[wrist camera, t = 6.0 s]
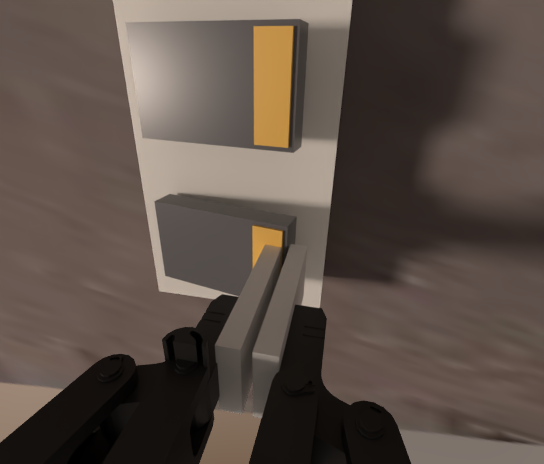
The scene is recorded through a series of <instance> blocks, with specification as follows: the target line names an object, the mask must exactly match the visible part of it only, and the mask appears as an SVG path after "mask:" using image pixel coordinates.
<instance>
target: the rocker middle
mask: <svg viewBox="0 0 544 464" xmlns="http://www.w3.org/2000/svg"><path fill="white" fill-rule="evenodd" d="M125 24H126V31H127V37H128V44H129V51H130V57H131V64H132V71H133V77H134V84H135V91H136V97H137V104H138V111H139V118H140V124H141V131H142V138H147V139H157V140H167V141H178V142H188V143H198V144H208V145H218V146H228V147H239V148H249V149H259V150H269V151H279V152H290V153H294V152H295V151H297V150H298V149H299V148H300V147H301V144H302V127H303V110H304V93H305V77H306V60H307V43H308V26H309V23H307V22H305V21H303V20H301V19H272V20H219V21H166V22H125Z"/></svg>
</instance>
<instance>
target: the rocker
mask: <svg viewBox="0 0 544 464" xmlns="http://www.w3.org/2000/svg"><path fill="white" fill-rule="evenodd" d="M154 202H155V209H156V216H157V223H158V230H159V237H160V244H161V250H162V257H163V264H164V271H165V276H167V277H171V278H174V279H178V280H182V281H185V282H189V283H192V284H196V285H200V286H203V287H207V288H210V289H214V290H218V291H221V292H225V293H228V294H232V295H236V296H240V294H241V292H242V290H243V288H244V286H245V284H246V282H247V280H248V278H249V276H250V274H251V272H252V270H253V268H254V266H255V264H256V262H257V260H258V258H259V256H260V254H261V252H262V250H263V248H264V246H265V244H266V245H271V246H275V247H280V248H281V265H280V273H281V270H282V267H283V264H284V261H285V259H286V256H287V253H288V250H289V247H290V244H295V238H296V221H297V216H291V215H285V214H280V213H274V212H268V211H263V210H257V209H252V208H246V207H240V206H235V205H229V204H224V203H218V202H212V201H207V200H201V199H196V198H190V197H184V196H179V195H173V194H168V195H166V196H164V197H162V198H160V199H158V200H156V201H154Z"/></svg>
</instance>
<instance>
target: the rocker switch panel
mask: <svg viewBox="0 0 544 464" xmlns="http://www.w3.org/2000/svg"><path fill="white" fill-rule="evenodd" d="M352 2H353V0H113V4H114V11H115V17H116V23H117V29H118V36H119V42H120V48H121V54H122V61H123V67H124V73H125V79H126V86H127V92H128V98H129V105H130V111H131V117H132V123H133V130H134V136H135V142H136V148H137V155H138V161H139V167H140V173H141V180H142V186H143V192H144V199H145V205H146V211H147V217H148V224H149V230H150V236H151V242H152V249H153V255H154V261H155V267H156V274H157V280H158V286H159V291H162V292H169V293H176V294H183V295H190V296H196V297H203V298H210V299H216V298H217V297H218V296H220V295H221V294H224V295H230V296H236V295H232V294H228V293H225V292H221V291H218V290H214V289H210V288H207V287H203V286H200V285H196V284H192V283H189V282H185V281H182V280H178V279H174V278H171V277H167V276H165V271H164V264H163V257H162V250H161V244H160V237H159V230H158V223H157V216H156V209H155V202H154V201H156V200H158V199H160V198H162V197H164V196H166V195H168V194H173V195H179V196H184V197H190V198H196V199H201V200H207V201H212V202H218V203H224V204H229V205H235V206H240V207H246V208H252V209H257V210H263V211H268V212H274V213H280V214H285V215H291V216H297V221H296V238H295V245H303V246H307V257H306V270H305V283H304V296H303V301H302V306H309V307H315V308H320V300H321V291H322V282H323V273H324V264H325V254H326V245H327V236H328V226H329V217H330V208H331V198H332V189H333V180H334V170H335V161H336V151H337V142H338V133H339V123H340V114H341V105H342V95H343V86H344V77H345V67H346V58H347V48H348V39H349V30H350V20H351V11H352ZM272 19H301V20H303V21H305V22H307V23H309V26H308V43H307V60H306V77H305V93H304V110H303V127H302V144H301V147H300V148H299V149H298V150H297V151H295V152H294V153H290V152H279V151H269V150H259V149H249V148H239V147H228V146H218V145H208V144H198V143H188V142H178V141H167V140H157V139H147V138H142V131H141V124H140V118H139V111H138V104H137V97H136V91H135V84H134V77H133V71H132V64H131V57H130V51H129V44H128V37H127V31H126V24H125V22H166V21H219V20H272ZM237 297H239V296H237Z"/></svg>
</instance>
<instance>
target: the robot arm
mask: <svg viewBox="0 0 544 464" xmlns="http://www.w3.org/2000/svg"><path fill="white" fill-rule="evenodd" d="M306 257H307V246H303V245H295V244H290V247H289V250H288V253H287V256H286V259H285V261H284V264H283V267H282V270H281V273H280V265H281V248H280V247H275V246H271V245H266V244H265V246H264V248H263V250H262V252H261V254H260V256H259V258H258V260H257V262H256V264H255V266H254V268H253V270H252V272H251V274H250V276H249V278H248V280H247V282H246V284H245V286H244V288H243V290H242V292H241V294H240V296H239V297H237V296H230V295H224V294H221V295H220V296H218V297H217V298H216V299H214V300H213V301H212V302H211V303H210V305H209V307H208V308H207V310H206V313H204V315H203V317H202V319H201V320H200V322H199V323H198V325H197V327H196V328H193V327H184V328H180V329H176V330H174V331H172V332H170V333H168V334H167V335H166V336H165V337H164V338H163V339H162V342H163V348H164V355H165V362H162V363H157V364H149V365H138V366H136V364H135V361H134V359H133V358H131V357H130V356H129V355H124V354H116V355H111V356H108V357H105V358H103V359H101V360H100V361H98V362H97V363H95V364H94V365H93V366H91V367H90V368H89V369H88V370H87V371H85V372H84V373H83V374H82V375H81V376H79V377H78V378H77V379H76V380H75V381H73V382H72V383H71V384H70V385H69V386H67V387H66V388H65V389H64V390H63V391H62V392H60V393H59V394H58V395H57V396H56V397H54V398H53V399H52V400H51V401H50V402H48V403H47V404H46V405H45V406H44V407H42V408H41V409H40V410H39V411H38V412H36V413H35V414H34V415H33V416H32V417H30V418H29V419H28V420H27V421H26V422H24V423H23V424H22V425H21V426H20V427H18V428H17V429H16V430H15V431H14V432H13V433H11V434H10V435H9V436H8V437H6V439H4V440H3V441H2V442H1V443H0V464H199V463H200V460H201V457H202V454H203V452H204V449H205V446H206V443H207V441H208V438H209V435H210V432H211V430H212V427H213V421H214V413H213V411H214V409H215V406H216V404H217V401H218V399H219V409H220V410H225V411H229V412H234V413H239V414H242V413H243V410H244V407H245V404H246V401H247V398H248V394H249V391H250V388H251V385H252V382H253V417H257V418H262V419H261V423H260V426H259V430H258V433H257V437H256V440H255V444H254V447H253V451H252V455H251V458H250V461H249V464H411V462H410V459H409V456H408V454H407V451H406V448H405V445H404V443H403V440H402V437H401V434H400V431H399V429H398V426H397V424H396V422H395V420H394V418H393V417H392V415H391V414H390V413H389V412H388V411H387V410H386V409H385V408H384V407H382V406H380V405H378V404H376V403H374V402H369V401H359V402H354V403H353V404H351V405H349V404H347V403H345V402H343V401H341V400H339V399H338V398H336V397H334V396H333V395H332V394H331V393H330V392H329V391H328V390H327V389H326V387H325V386H324V384H323V381H322V378H321V369H322V359H323V349H324V339H325V329H326V320H327V318H326V316H325V314H324V312H323V310H322V308H315V307H309V306H302V301H303V296H304V283H305V270H306Z"/></svg>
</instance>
